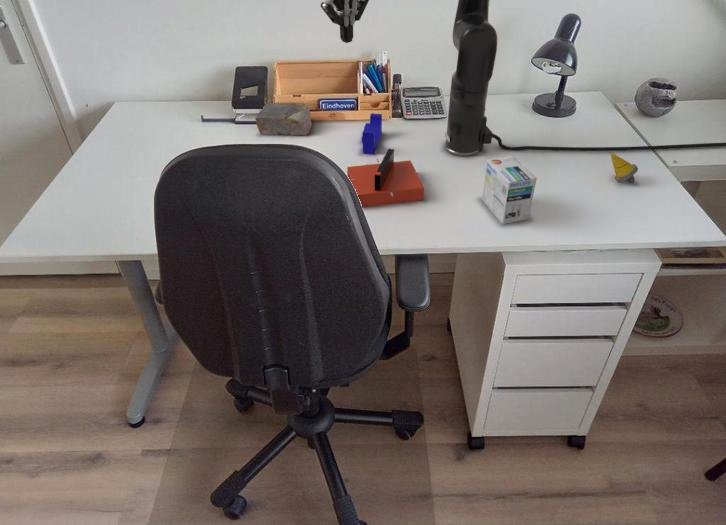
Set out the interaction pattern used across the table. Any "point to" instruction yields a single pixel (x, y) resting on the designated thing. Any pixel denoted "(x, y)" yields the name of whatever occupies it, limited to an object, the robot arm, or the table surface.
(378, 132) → the cable clip
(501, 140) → the robot arm
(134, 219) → the table surface
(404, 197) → the red flat rectangular block
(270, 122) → the geological specimen
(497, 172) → the light bulb box
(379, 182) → the black divider wall
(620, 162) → the yellow cone
